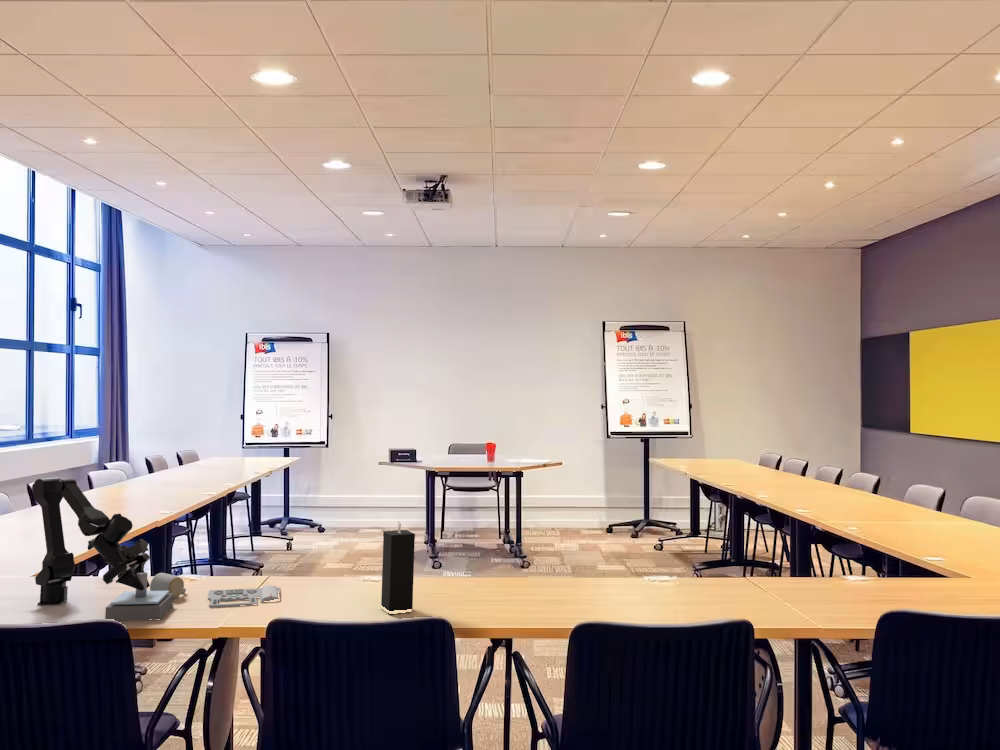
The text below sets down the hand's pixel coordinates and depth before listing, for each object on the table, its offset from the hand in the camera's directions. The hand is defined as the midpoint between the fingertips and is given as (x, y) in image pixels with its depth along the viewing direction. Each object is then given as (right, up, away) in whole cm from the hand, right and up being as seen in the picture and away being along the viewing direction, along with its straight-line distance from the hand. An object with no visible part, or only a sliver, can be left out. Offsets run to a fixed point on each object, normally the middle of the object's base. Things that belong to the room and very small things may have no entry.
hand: (145, 588), depth 224 cm
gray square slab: (-2, -8, 0) cm, 8 cm away
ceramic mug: (-2, -9, +20) cm, 22 cm away
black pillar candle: (+75, -10, +10) cm, 76 cm away
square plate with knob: (-1, -3, 0) cm, 3 cm away
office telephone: (+23, -10, +20) cm, 32 cm away
